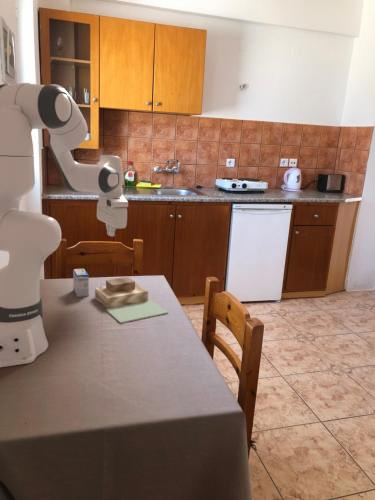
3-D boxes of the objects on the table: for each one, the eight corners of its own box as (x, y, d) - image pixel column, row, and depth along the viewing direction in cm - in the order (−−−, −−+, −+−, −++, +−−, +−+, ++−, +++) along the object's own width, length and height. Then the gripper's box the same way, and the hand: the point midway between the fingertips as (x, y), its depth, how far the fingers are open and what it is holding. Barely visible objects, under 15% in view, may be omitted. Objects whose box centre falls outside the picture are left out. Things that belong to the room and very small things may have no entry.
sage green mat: (120, 323, 134) (120, 322, 134) (106, 310, 144) (106, 309, 144) (168, 313, 144) (168, 312, 144) (151, 301, 153) (151, 300, 153)
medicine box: (73, 290, 161) (72, 269, 159) (84, 289, 163) (84, 268, 161) (77, 297, 154) (76, 275, 152) (89, 296, 156) (88, 274, 154)
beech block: (107, 308, 145) (107, 298, 144) (95, 297, 155) (95, 287, 154) (148, 301, 154) (148, 291, 153) (133, 291, 163) (133, 281, 162)
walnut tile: (112, 293, 149) (112, 285, 148) (105, 287, 154) (105, 280, 153) (134, 289, 154) (135, 281, 153) (128, 284, 159) (128, 276, 158)
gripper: (92, 195, 160) (92, 230, 163) (113, 203, 143) (113, 242, 147) (107, 195, 163) (107, 229, 167) (130, 202, 147) (130, 240, 150)
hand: (110, 235), depth 157 cm, fingers closed
